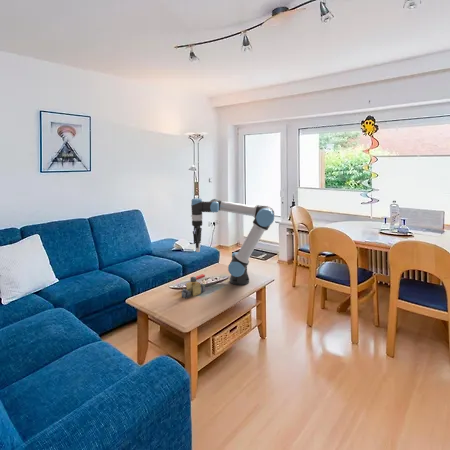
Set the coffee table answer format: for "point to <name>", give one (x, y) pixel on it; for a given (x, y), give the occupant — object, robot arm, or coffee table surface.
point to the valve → (193, 289)
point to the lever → (193, 279)
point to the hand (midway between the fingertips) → (197, 251)
